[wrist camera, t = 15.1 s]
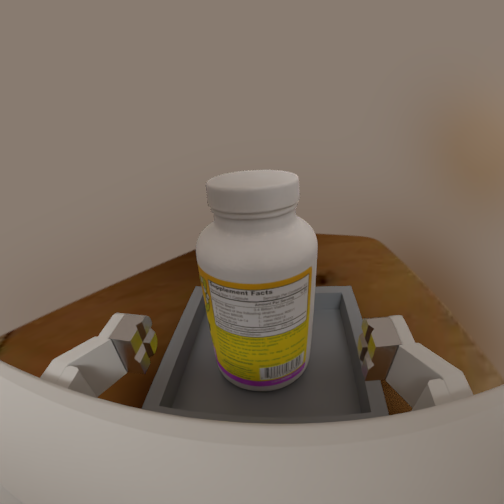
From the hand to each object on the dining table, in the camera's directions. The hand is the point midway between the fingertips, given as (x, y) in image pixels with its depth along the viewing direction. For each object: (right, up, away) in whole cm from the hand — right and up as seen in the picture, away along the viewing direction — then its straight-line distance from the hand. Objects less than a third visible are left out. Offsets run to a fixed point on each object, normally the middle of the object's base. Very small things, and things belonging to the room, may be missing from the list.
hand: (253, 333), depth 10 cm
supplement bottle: (+1, -5, +9) cm, 11 cm away
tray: (+1, -5, +10) cm, 11 cm away
